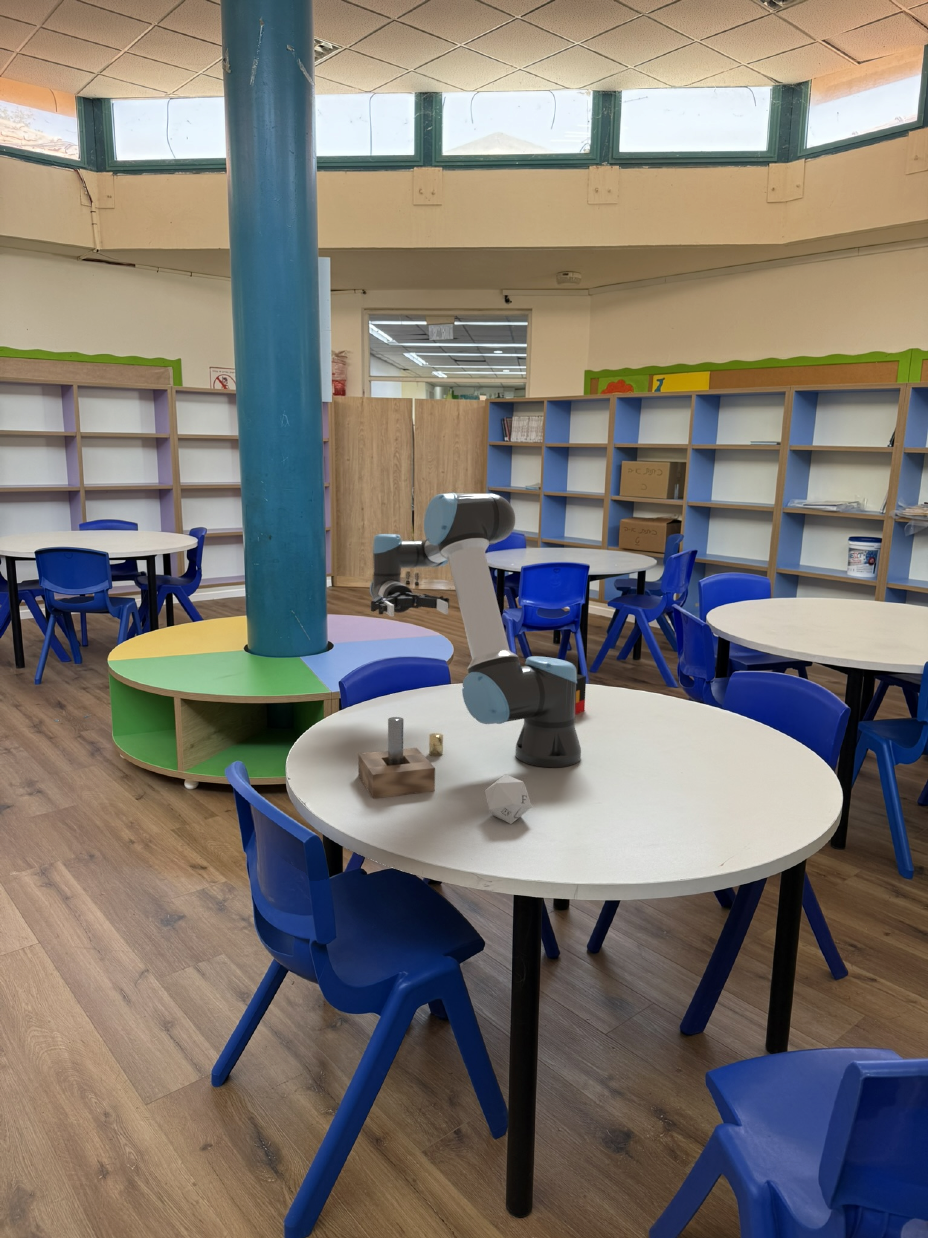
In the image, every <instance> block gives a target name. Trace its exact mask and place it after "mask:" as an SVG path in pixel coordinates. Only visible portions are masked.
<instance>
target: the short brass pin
mask: <svg viewBox="0 0 928 1238" xmlns="http://www.w3.org/2000/svg"><path fill="white" fill-rule="evenodd" d="M428 737H429V738H428V755H430V756H432V757H440V756H442V755H444V752H443V751H444V734H442V733H438V732H436V733H435V732H433V733H429V735H428Z"/></svg>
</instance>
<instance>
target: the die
mask: <svg viewBox="0 0 928 1238" xmlns="http://www.w3.org/2000/svg"><path fill="white" fill-rule="evenodd" d="M484 794H485V798H486V801H487V802H486V803H487V805H488V809H489V811H490V813H491V815H492V816H493V817H496V818H498V819H499V820H501V821H504V822H506V823H508V824H510V825H512V824H513V823H514V822H515V821H517V820H518V819H519V818H520V817H522V816H523V815H524V814H525V813H527V812H528V811H529V810H530V809H531V808H533V807H532V803H531V800H530V797H529V793H528V791H527V787H526V785H525V782H524V781H523V780H520V779H518V778H516V777H513V776H510V775H508V774H506V773H504V774H502V776H501V777H500V778H498V779H497V780H496V781H494V783H492V784H491V785H489V786H488V787H487V788H485V790H484Z"/></svg>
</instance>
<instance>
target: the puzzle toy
mask: <svg viewBox="0 0 928 1238" xmlns="http://www.w3.org/2000/svg"><path fill="white" fill-rule="evenodd" d="M576 679H577V685H576V702H575V716H576V715H578V714H581V713H582V712H584V711H585V709H586V708H585V707H586V688H587V686H586V684H587V675H583V674H577V673H576Z"/></svg>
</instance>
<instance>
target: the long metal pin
mask: <svg viewBox="0 0 928 1238" xmlns="http://www.w3.org/2000/svg"><path fill="white" fill-rule="evenodd" d="M403 749H404V717H402V716H401V717H400V716H391V717H389V718H387V751H388V766H391V765H400V764H403Z"/></svg>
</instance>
